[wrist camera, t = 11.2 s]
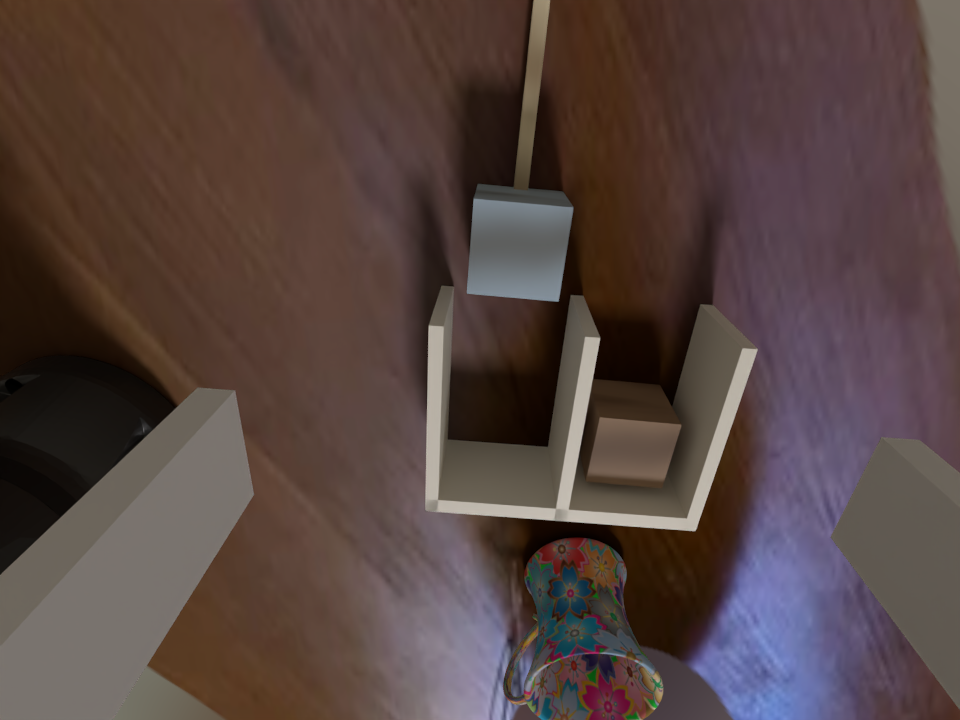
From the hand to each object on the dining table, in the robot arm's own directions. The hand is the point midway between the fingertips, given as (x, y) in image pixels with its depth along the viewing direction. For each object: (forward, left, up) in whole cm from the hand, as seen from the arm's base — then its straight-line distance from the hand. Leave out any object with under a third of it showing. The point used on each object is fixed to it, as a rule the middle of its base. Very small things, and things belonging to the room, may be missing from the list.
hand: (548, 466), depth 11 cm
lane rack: (+8, -8, -23) cm, 25 cm away
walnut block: (+13, -8, -23) cm, 27 cm away
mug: (+18, -24, -23) cm, 38 cm away
